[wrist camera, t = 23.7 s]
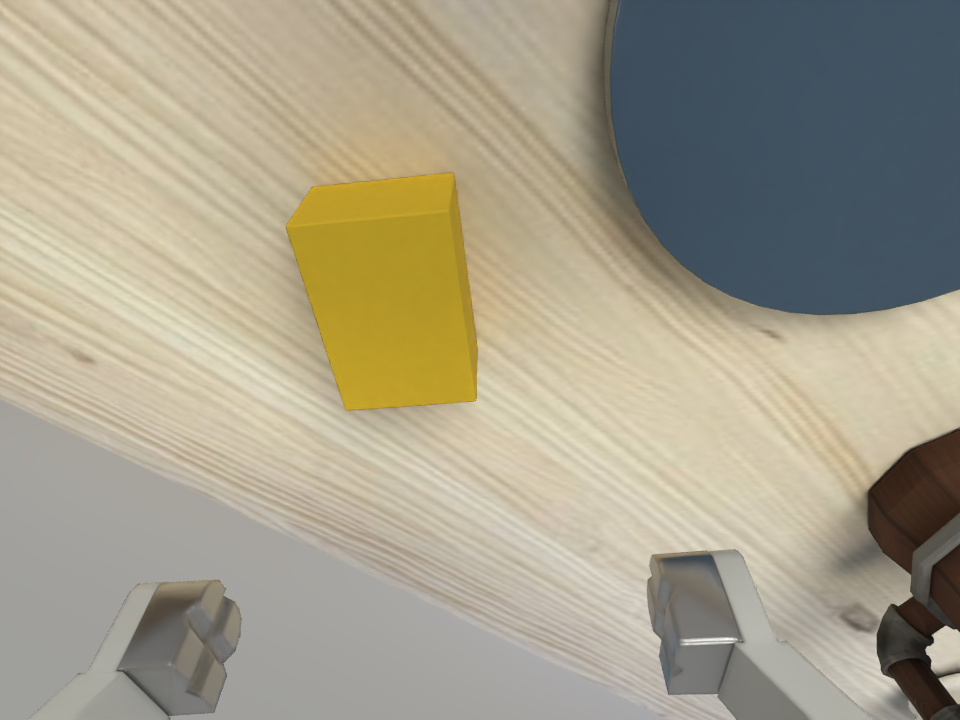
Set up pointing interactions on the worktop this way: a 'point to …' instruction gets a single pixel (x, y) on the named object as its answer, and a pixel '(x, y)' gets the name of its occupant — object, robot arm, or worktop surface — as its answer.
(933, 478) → the mug
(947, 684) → the vase
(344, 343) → the yellow block
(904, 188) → the plate
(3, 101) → the worktop surface
